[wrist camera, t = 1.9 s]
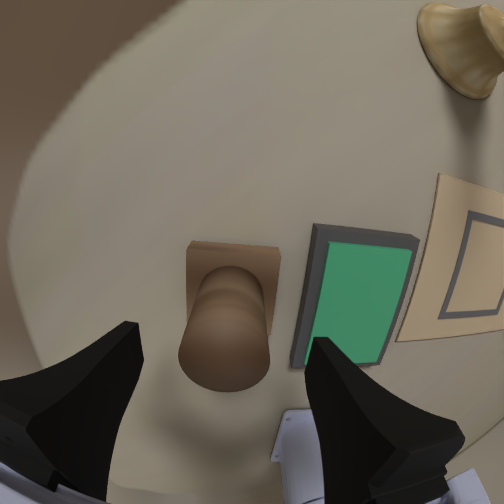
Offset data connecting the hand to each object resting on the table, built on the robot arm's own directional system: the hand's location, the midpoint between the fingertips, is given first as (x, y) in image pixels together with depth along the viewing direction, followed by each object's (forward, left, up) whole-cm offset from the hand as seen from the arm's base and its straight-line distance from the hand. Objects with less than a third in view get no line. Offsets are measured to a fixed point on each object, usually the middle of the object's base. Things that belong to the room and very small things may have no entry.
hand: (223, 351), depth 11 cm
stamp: (0, 0, -7) cm, 7 cm away
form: (+2, -21, -7) cm, 22 cm away
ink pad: (-1, -8, -7) cm, 11 cm away
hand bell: (+19, -15, -7) cm, 25 cm away
